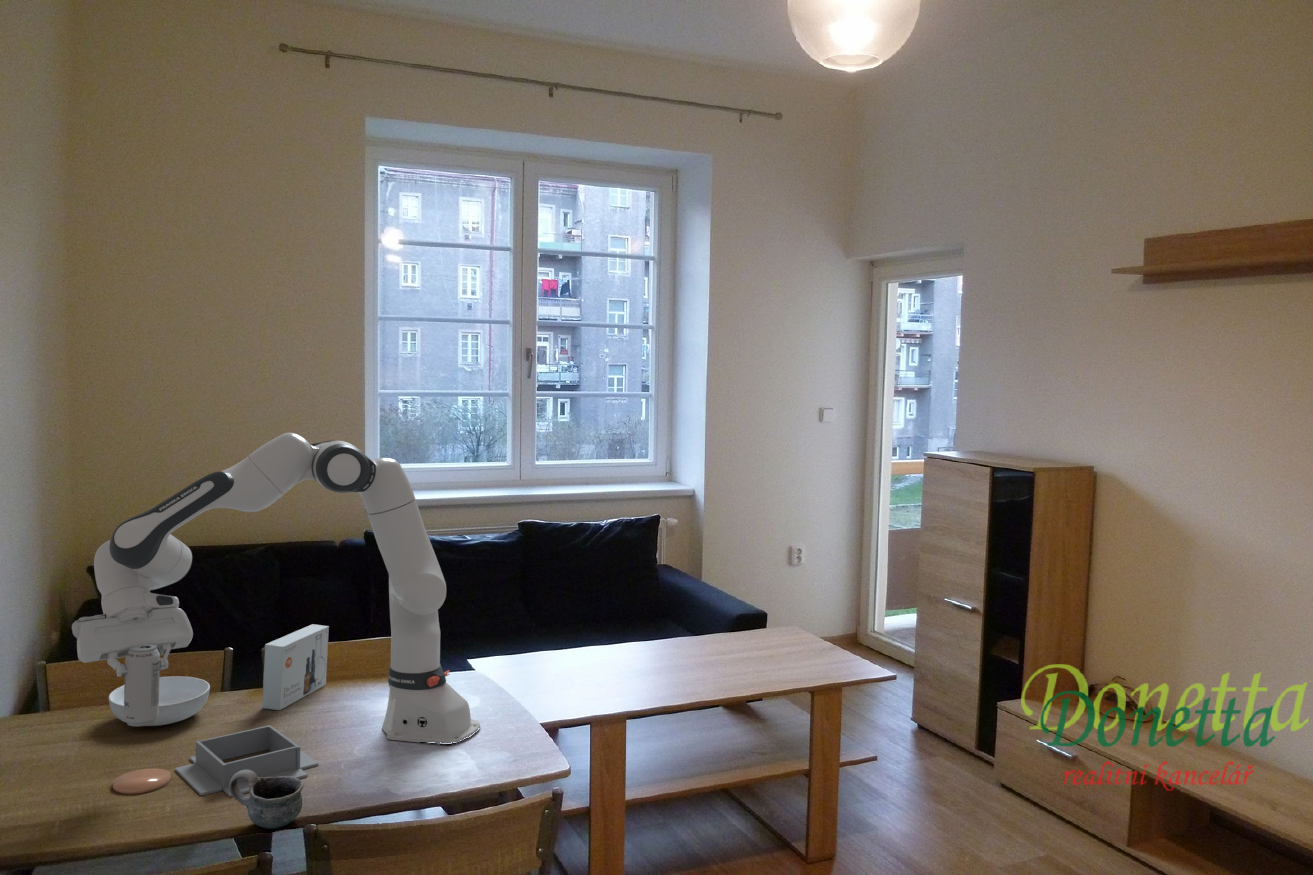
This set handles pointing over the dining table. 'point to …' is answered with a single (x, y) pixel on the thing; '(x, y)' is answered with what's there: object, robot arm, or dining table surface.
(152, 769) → the coaster
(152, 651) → the energy drink can
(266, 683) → the skincare box
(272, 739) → the grey open box
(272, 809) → the mug
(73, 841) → the dining table surface
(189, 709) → the serving bowl
